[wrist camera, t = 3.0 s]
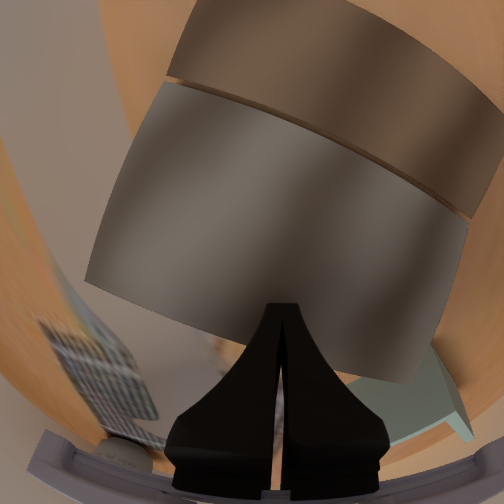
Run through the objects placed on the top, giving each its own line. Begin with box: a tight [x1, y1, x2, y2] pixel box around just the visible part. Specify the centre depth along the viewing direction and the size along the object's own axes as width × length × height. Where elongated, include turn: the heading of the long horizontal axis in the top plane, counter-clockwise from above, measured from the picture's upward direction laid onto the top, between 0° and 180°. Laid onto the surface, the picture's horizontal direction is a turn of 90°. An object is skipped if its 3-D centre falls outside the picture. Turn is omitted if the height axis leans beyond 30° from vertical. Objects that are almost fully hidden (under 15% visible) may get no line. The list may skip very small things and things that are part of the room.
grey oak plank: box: [84, 81, 469, 385], centre depth 13 cm, size 18×10×2 cm, turn 69°
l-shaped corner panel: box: [346, 343, 474, 447], centre depth 21 cm, size 12×12×8 cm
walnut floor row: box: [166, 0, 504, 219], centre depth 11 cm, size 18×7×2 cm, turn 69°
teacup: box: [91, 437, 153, 473], centre depth 36 cm, size 14×11×8 cm
